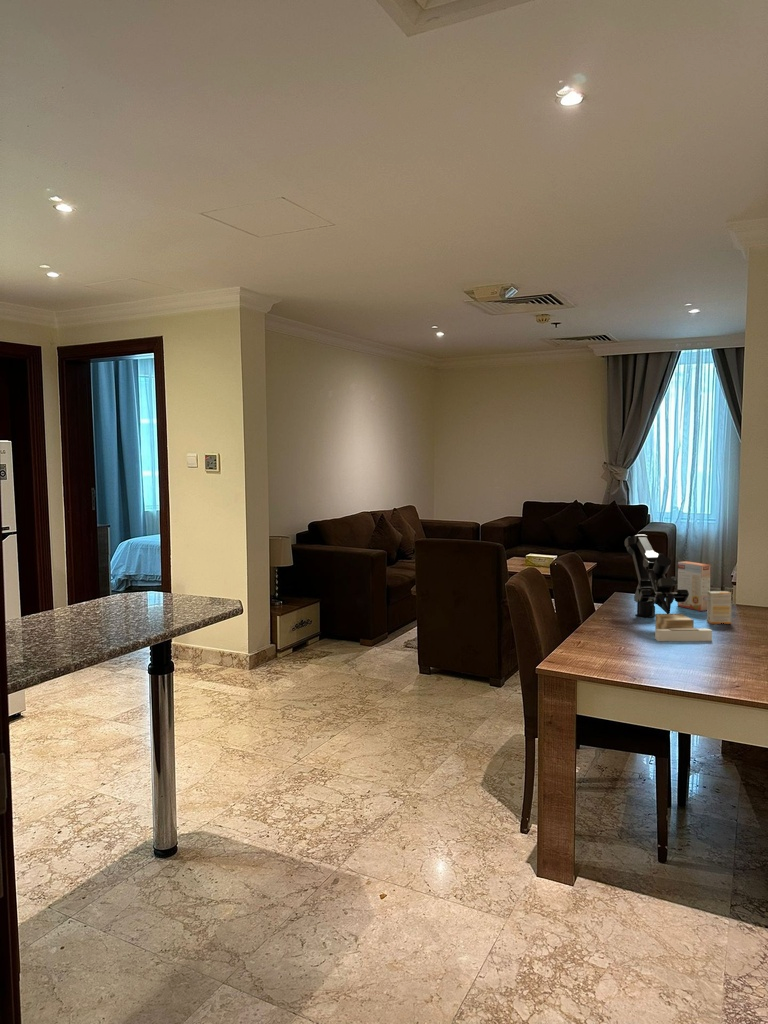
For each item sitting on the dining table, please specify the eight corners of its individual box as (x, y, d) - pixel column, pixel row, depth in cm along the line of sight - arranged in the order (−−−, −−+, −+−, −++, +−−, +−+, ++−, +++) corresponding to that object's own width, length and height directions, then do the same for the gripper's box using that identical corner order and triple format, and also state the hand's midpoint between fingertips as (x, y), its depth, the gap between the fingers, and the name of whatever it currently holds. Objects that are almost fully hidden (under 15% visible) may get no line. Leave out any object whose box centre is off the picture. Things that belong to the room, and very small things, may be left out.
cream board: (655, 639, 271) (655, 628, 271) (708, 638, 271) (708, 627, 270) (657, 641, 268) (658, 629, 268) (711, 640, 267) (712, 629, 267)
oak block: (655, 631, 285) (655, 613, 284) (680, 630, 285) (680, 613, 284) (667, 638, 273) (667, 620, 272) (693, 638, 273) (693, 620, 272)
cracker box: (710, 610, 321) (711, 564, 320) (700, 611, 319) (701, 565, 317) (686, 604, 334) (687, 560, 333) (676, 606, 332) (677, 561, 330)
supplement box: (726, 621, 299) (727, 590, 298) (731, 624, 294) (731, 592, 293) (706, 621, 300) (706, 590, 299) (710, 624, 295) (711, 592, 294)
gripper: (640, 569, 289) (649, 601, 278) (687, 569, 288) (698, 601, 278) (634, 586, 297) (643, 617, 287) (679, 585, 297) (690, 617, 286)
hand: (668, 613), depth 284 cm, fingers closed
